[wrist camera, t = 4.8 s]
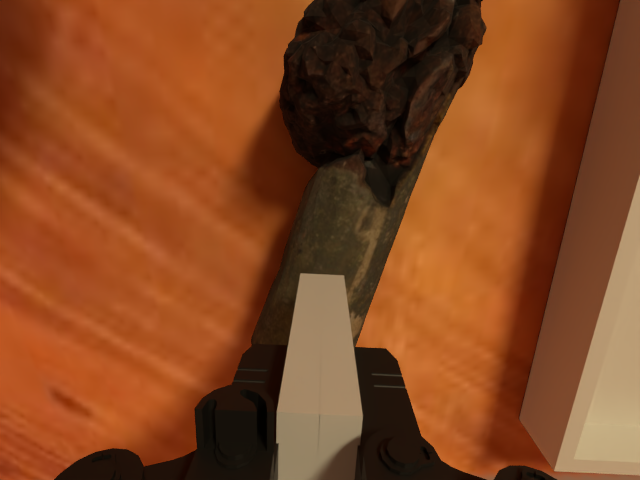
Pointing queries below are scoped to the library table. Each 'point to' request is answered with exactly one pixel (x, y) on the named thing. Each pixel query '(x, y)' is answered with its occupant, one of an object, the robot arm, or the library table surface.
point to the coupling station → (597, 289)
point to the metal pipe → (363, 135)
